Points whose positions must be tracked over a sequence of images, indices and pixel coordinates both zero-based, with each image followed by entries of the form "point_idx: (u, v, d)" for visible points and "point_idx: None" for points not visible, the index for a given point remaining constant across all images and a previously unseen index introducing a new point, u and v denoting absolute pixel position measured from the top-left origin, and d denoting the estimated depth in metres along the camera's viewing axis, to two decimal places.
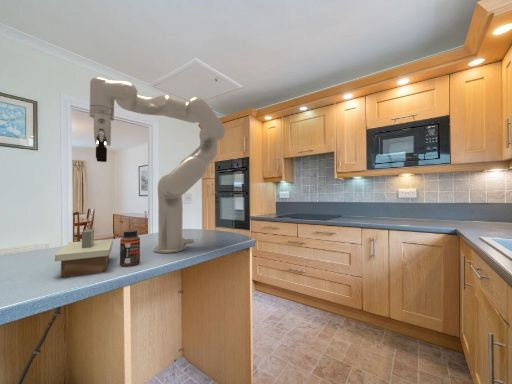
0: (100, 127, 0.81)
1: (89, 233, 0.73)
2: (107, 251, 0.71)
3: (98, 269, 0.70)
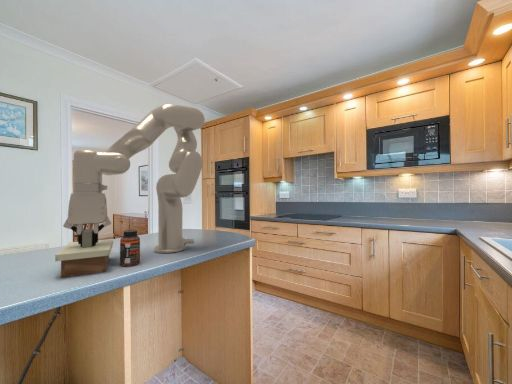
0: (106, 210, 0.78)
1: (89, 233, 0.73)
2: (107, 251, 0.71)
3: (98, 269, 0.70)
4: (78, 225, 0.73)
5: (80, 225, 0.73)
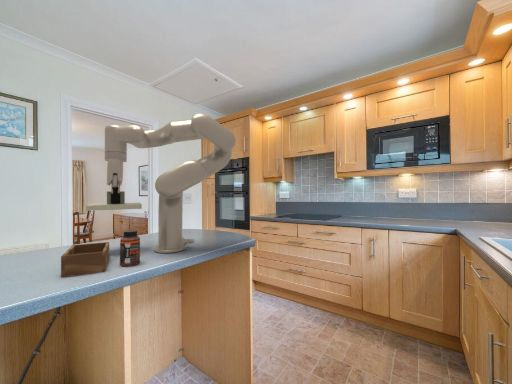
0: None
1: None
2: None
3: (98, 269, 0.70)
4: (119, 186, 0.91)
5: (119, 186, 0.92)
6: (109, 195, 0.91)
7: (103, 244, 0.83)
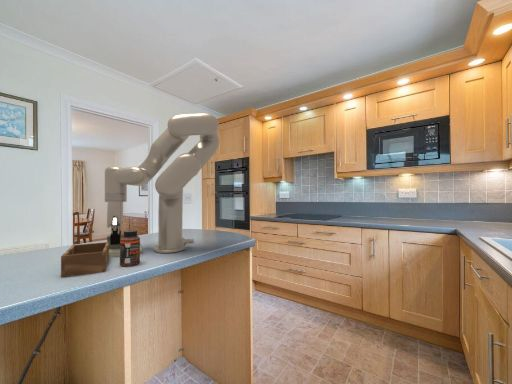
0: None
1: None
2: (140, 243, 1.02)
3: (98, 269, 0.70)
4: (119, 226, 0.90)
5: (119, 227, 0.91)
6: (109, 240, 0.91)
7: (103, 244, 0.83)
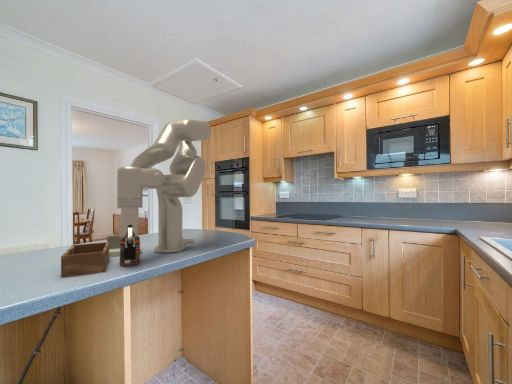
0: None
1: None
2: (140, 243, 1.02)
3: (98, 269, 0.70)
4: None
5: (134, 238, 0.77)
6: (109, 240, 0.91)
7: (103, 244, 0.83)
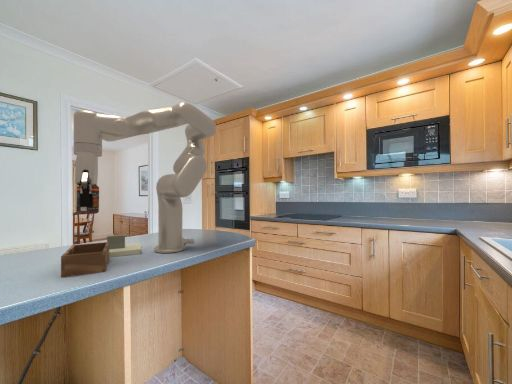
0: None
1: None
2: (140, 243, 1.02)
3: (98, 269, 0.70)
4: (92, 184, 0.73)
5: None
6: (109, 240, 0.91)
7: (103, 244, 0.83)
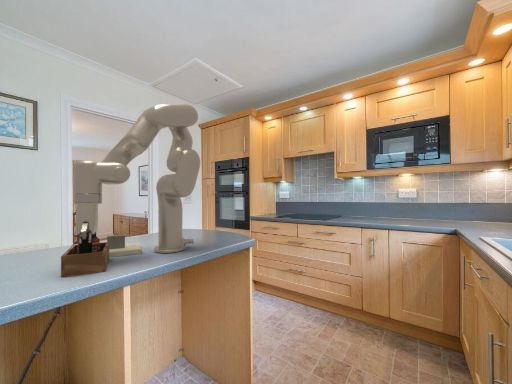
0: None
1: None
2: (140, 243, 1.02)
3: (98, 269, 0.70)
4: None
5: (91, 234, 0.73)
6: (109, 240, 0.91)
7: (103, 244, 0.83)
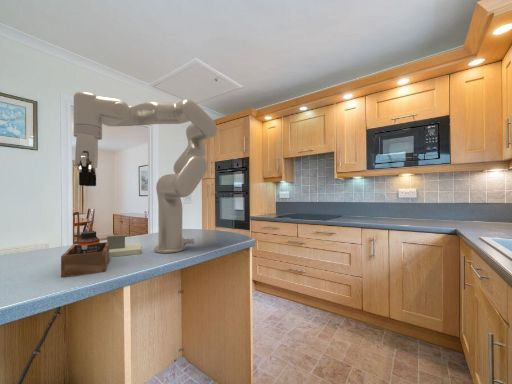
0: None
1: None
2: (140, 243, 1.02)
3: (98, 269, 0.70)
4: (91, 164, 0.72)
5: (91, 165, 0.73)
6: (109, 240, 0.91)
7: (103, 244, 0.83)
